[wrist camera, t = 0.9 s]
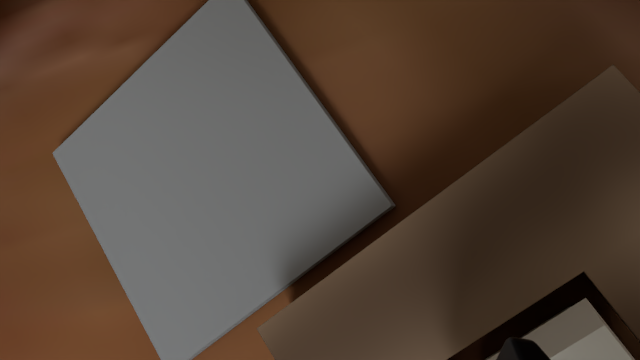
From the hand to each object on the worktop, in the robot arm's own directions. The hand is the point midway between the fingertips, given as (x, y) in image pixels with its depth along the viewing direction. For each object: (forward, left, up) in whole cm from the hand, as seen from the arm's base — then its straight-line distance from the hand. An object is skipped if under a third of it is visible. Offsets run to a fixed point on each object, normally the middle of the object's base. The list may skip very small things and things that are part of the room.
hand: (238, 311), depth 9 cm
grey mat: (+8, +5, -12) cm, 15 cm away
